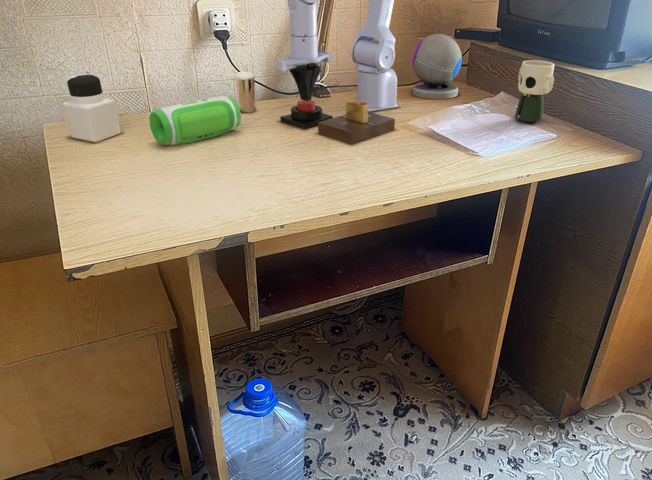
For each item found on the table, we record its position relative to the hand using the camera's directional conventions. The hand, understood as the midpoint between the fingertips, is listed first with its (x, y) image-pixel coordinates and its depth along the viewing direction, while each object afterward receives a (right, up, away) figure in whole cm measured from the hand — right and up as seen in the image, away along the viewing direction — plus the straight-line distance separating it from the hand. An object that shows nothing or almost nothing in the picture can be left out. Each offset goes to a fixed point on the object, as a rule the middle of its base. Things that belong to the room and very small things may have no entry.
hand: (306, 99), depth 123 cm
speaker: (-22, -11, -8) cm, 26 cm away
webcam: (+33, +10, +27) cm, 44 cm away
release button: (0, -2, +1) cm, 2 cm away
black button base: (0, -4, +3) cm, 5 cm away
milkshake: (-15, 0, +10) cm, 18 cm away
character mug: (+52, -3, +7) cm, 53 cm away
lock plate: (+12, -8, -3) cm, 14 cm away
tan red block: (+12, -6, -4) cm, 14 cm away
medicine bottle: (-43, -10, -8) cm, 45 cm away
